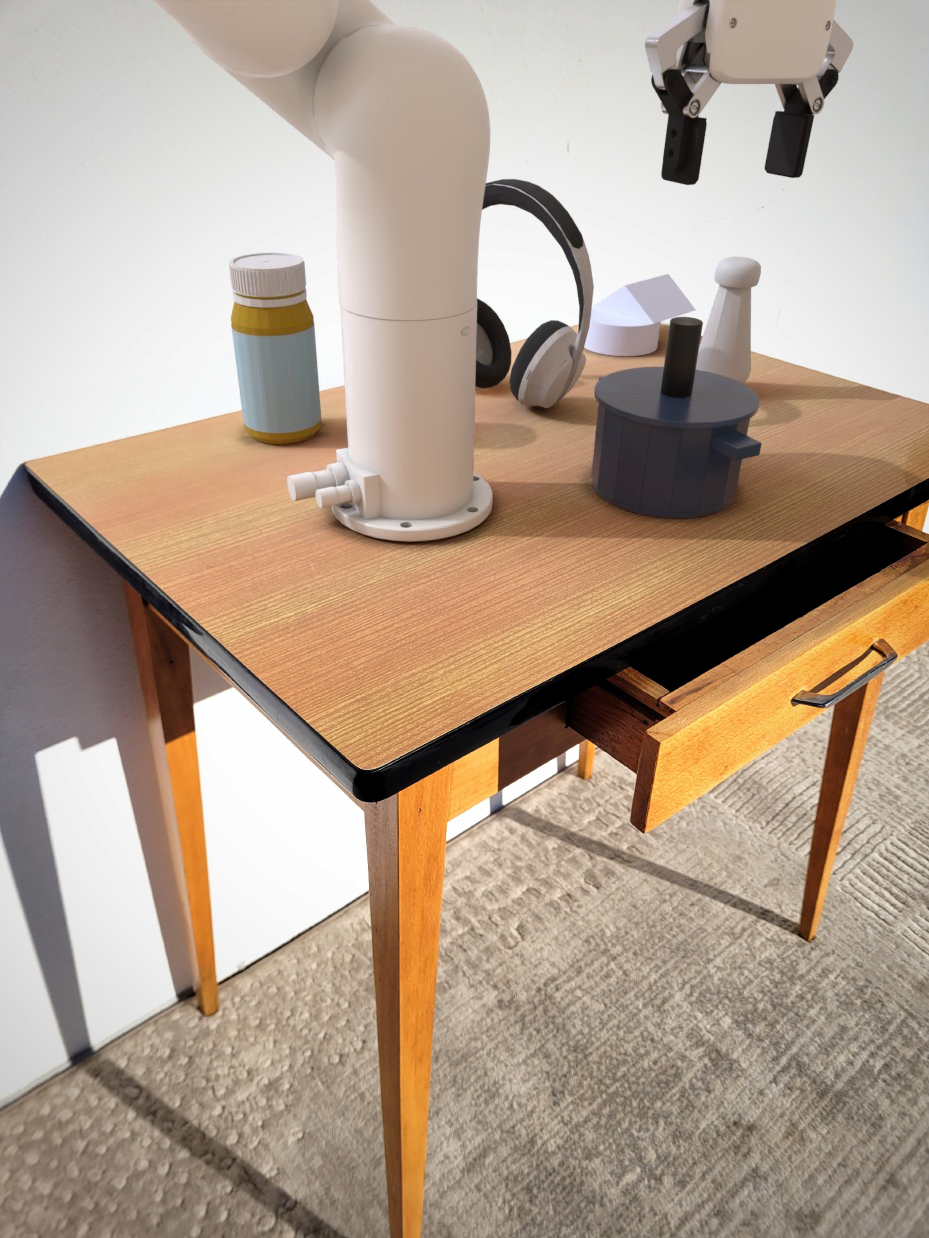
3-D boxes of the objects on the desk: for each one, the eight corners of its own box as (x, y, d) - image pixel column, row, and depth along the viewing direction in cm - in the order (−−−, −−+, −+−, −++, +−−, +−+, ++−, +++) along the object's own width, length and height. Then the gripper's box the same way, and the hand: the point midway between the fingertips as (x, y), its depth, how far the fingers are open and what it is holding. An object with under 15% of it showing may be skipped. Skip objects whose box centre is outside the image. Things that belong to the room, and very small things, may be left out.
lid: (661, 448, 65) (674, 356, 61) (562, 393, 74) (568, 309, 71) (792, 419, 70) (811, 332, 66) (685, 371, 79) (696, 292, 76)
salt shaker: (742, 382, 98) (766, 253, 91) (751, 401, 93) (777, 267, 86) (686, 379, 98) (706, 251, 91) (692, 398, 94) (713, 264, 86)
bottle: (302, 412, 89) (287, 248, 80) (335, 436, 84) (323, 264, 75) (233, 426, 85) (211, 256, 77) (263, 452, 81) (242, 274, 72)
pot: (672, 546, 67) (688, 450, 63) (547, 461, 80) (553, 377, 76) (789, 514, 72) (810, 423, 68) (654, 438, 85) (665, 357, 80)
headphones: (606, 412, 90) (629, 188, 79) (549, 434, 85) (566, 199, 74) (467, 365, 101) (470, 164, 90) (410, 382, 96) (406, 172, 85)
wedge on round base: (631, 322, 116) (564, 343, 108) (637, 267, 112) (569, 284, 105) (691, 338, 111) (626, 361, 103) (700, 280, 107) (633, 299, 99)
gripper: (836, -114, 62) (782, 166, 71) (631, -139, 55) (601, 177, 64) (931, -125, 57) (859, 180, 66) (717, -153, 49) (671, 194, 59)
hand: (732, 178), depth 65 cm, fingers open, 9 cm apart
